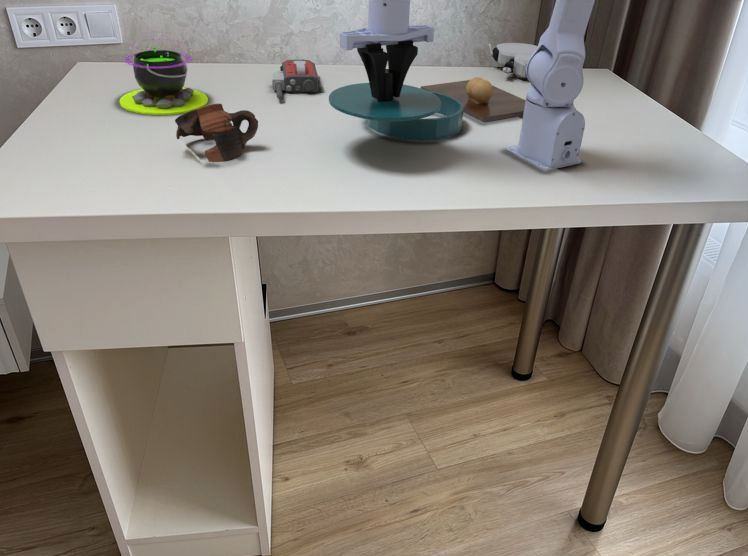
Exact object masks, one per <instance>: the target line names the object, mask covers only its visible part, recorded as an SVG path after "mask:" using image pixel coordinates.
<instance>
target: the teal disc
mask: <svg viewBox="0 0 748 556" xmlns="http://www.w3.org/2000/svg"><path fill="white" fill-rule="evenodd" d="M394 78H395V71H394V70H391V69H389V68H386V70H385V77H384V94H383V99H382V100H377V99H376V98H374V97H372V95H371V89H370V84H369V82H361V83H353V84H348V85H344V86H341V87H338V88H336V89H333V91H331V92H330V93H329V95H328V103H329V105H330V106H331V107H332V108H333V109H334V110H336V111H338V112H340V113H343V114H344V115H348V116H351V117H355V118H358V119H363V120H366V121H367V120H374V121H385V122H399V121H409V120H415V119H425V118H429V117H431V116H433V115H435V114H438V113H437V112H438V111H439V110H440V109H441V106H442V102H441V99H440V98H439V97H438V96H437V95H435V94H433V93H432V92H429V91H427V90H424V89H421V87H417V86H413V85H409V84H403V86H402V89H401V93H400V97H394Z"/></svg>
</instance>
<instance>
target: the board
mask: <svg viewBox="0 0 748 556" xmlns="http://www.w3.org/2000/svg"><path fill="white" fill-rule="evenodd" d="M470 80H471V79H467V80H466V79H465V80H459V81H458V80H457V81H451V82H444V83H436V84H428V85H422V86H420V88H421V89H424V90H427V91H431V92H437V93H441V94H445V95H448V96H451V97H453V98H455V99H457V100H459V101H460V102H461V103H462V104H463V114H465V115H467V116H470V117H471V118H474V119H476V120H478V121H480V122H482V123H489V122H495V121H501V120H506V119H512V118H520V119H523V114H524V107H525V101H526V99H525V98H522V97H520V96H517V95H515V94H512V93H510V92H508V91H506V90H504V89H502V88H499V87H497V86H495V85H492V87H493V95H492V97H491V98H490V99H489V102H488V103H481V104H477V103H475V102H473V101H470V100H468V95H467V92H466V86H467V83H468V82H469V81H470Z"/></svg>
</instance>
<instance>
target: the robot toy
mask: <svg viewBox="0 0 748 556" xmlns="http://www.w3.org/2000/svg"><path fill="white" fill-rule="evenodd" d="M537 47H538V45H534V44H530V43H523V42H502V43H499V44H497V45H496V47H493V49H492V46H491V43H489V44H488V48H489V51H490V57H492V58H493V60H494V61H495V62H496V63H497V64H498V65H500V66H501V67H502V72H503V73H505V74H512V72H513V73H514V75H515V76H516V78H518V79H528V78H527V75H526V66H527V63H528V60H529V58H530V57H531V55H532V54H533V53H534V52H535V50H536V49H537Z"/></svg>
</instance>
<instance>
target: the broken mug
mask: <svg viewBox="0 0 748 556" xmlns="http://www.w3.org/2000/svg"><path fill="white" fill-rule="evenodd" d="M243 121H247V123H248V126H247V129H246V131H244V132H243V131H242V130H241V125H242V123H243ZM174 122H175V124H176V125H177V129H176V132H175V133H176V134H175V136H176V140H180V138H181V137H182V138H186V137H190V136H193V137H201V136H202V137H203V140H205V141H214V142H215V145H214V146H213V147H210V148H209V149H206V150H204V155H205V156H206V159H207V161H208V162H209V163H222V162H226V161H229V160H231V161H232V160H234V159H237V158H239V157H240V156H242V153H243V149H244V148H245V147H246V144H247V143H248V142H249V141H251V140H252V139H253V138H254V137H256V134H257V131H258V129H259V120H258V119H257V118H256V115H255V114H254V113H253V112H252V111H250V110H247V109H243V110H239V111H236V112H228V111H225V109H224V107H223V104H222V103H210V104H207V105H205V106H204V107H200V108H197V109H194V110H191V111H189V112H187V113H182V114H181V115H179V116H178V117H176V118H175V119H174Z"/></svg>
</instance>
